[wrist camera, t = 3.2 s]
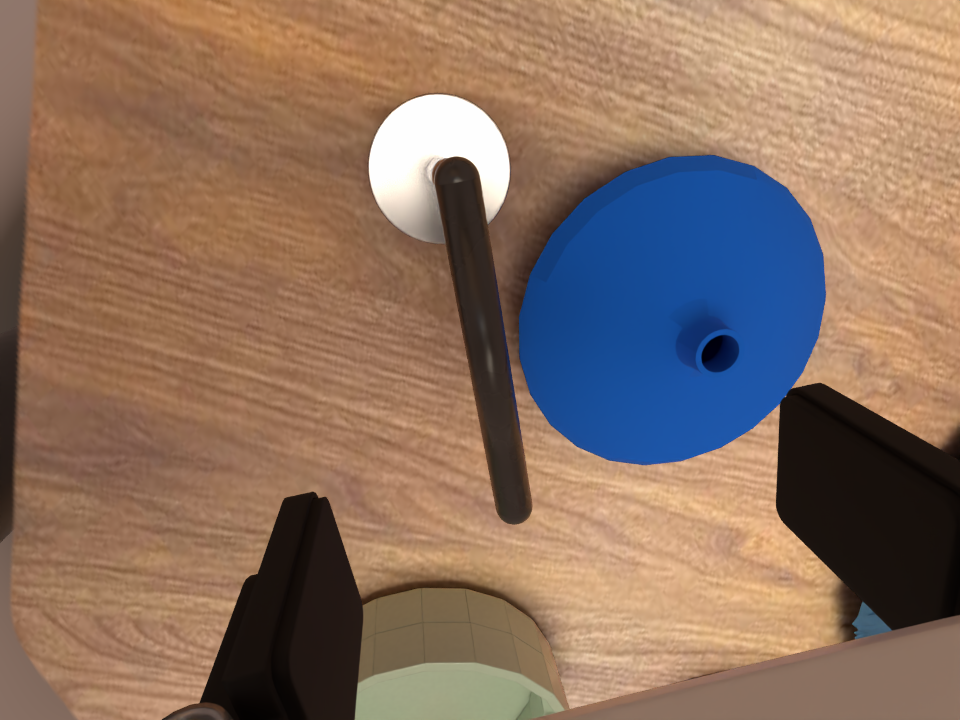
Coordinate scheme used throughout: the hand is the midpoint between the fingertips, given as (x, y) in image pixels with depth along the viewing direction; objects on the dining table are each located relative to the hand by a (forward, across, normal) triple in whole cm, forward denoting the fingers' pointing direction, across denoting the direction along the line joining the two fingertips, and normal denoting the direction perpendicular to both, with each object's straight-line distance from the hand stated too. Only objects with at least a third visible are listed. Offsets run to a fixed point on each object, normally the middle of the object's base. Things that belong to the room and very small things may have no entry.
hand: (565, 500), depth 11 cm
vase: (+19, -10, +3) cm, 21 cm away
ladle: (+18, +1, -1) cm, 18 cm away
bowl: (+18, +8, +26) cm, 33 cm away
